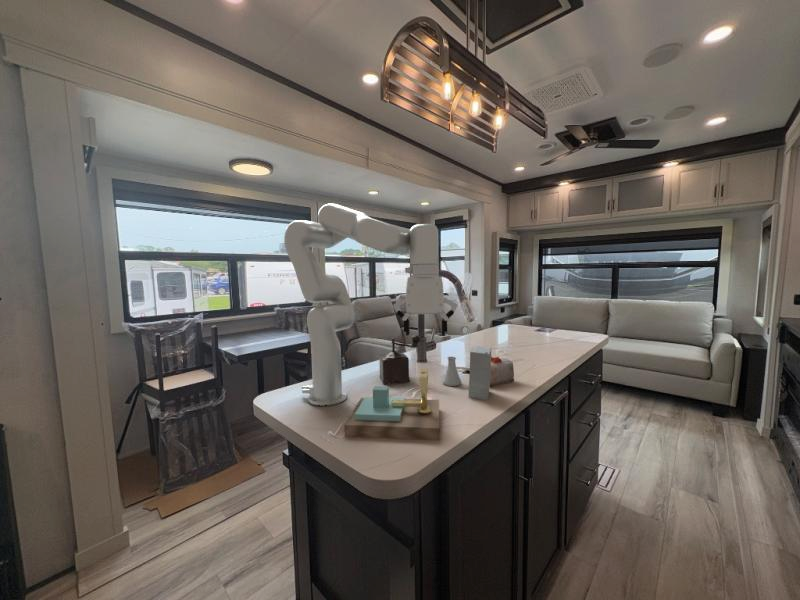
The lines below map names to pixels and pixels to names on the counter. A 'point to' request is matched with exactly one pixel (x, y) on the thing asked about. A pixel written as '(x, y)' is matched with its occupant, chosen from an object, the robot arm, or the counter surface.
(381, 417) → the cover
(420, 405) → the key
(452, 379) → the flask
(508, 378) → the food item
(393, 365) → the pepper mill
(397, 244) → the robot arm
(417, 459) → the counter surface
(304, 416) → the counter surface
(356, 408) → the base
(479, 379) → the skincare box
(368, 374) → the counter surface
